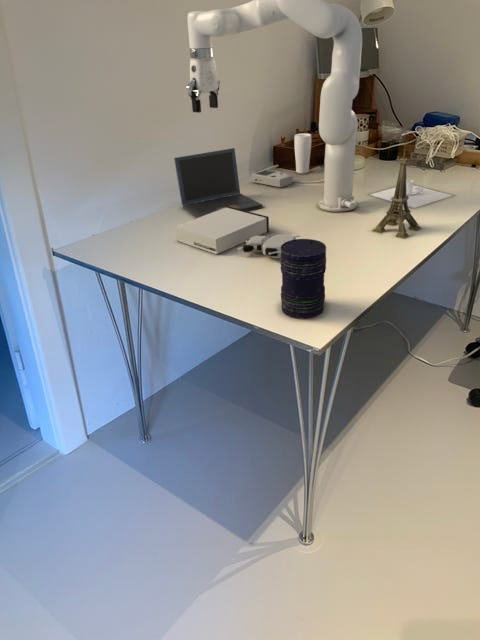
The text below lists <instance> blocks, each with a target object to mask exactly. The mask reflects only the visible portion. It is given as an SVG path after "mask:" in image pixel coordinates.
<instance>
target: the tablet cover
mask: <svg viewBox="0 0 480 640" xmlns="http://www.w3.org/2000/svg"><path fill="white" fill-rule="evenodd" d="M173 160H174V165H175V172H176V179H177V184H178V192H179V196H180V197H179V198H180V201H181V206H183V205H186V204H190V203H195V202H200V201H205V200H210V199H215V198H220V197H225V196H230V195H235V194H240V193H241V188H240V181H239V171H238V164H237V156H236V150H235V147H232V148H226V149H221V150H219V149H218V150H214V151H208V152H202V153H195V154H190V155H184V156H183V155H182V156H178V157H174V158H173Z"/></svg>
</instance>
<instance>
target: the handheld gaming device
mask: <svg viewBox="0 0 480 640" xmlns="http://www.w3.org/2000/svg"><path fill="white" fill-rule="evenodd" d="M250 177H251V182H252V183H257V184H261V185H266V186H271V187H276V188H285V187H286V186H290V185H292V184H293V175H292V174H290V173H287V172H283V171H279V170H273V169H267V168H265V169H261V170H259V171H256V172H253V173H251V174H250Z"/></svg>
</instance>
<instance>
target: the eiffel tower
mask: <svg viewBox="0 0 480 640" xmlns="http://www.w3.org/2000/svg"><path fill="white" fill-rule="evenodd" d="M404 146H406V144H405V145H404ZM397 163H398V164H399V170H398V175H397V179H396V185H395V187H396V189H395V193H394V197H392V198H391V200H392V201H391V204H390V207H389V209H388V210H387V211H386V212H385V213H386V215H384V217H383V218H382V219H381V220H380V221H379V222H378V224H376V227H375V228H373V229H372V230H371V232H374V233H379V234H381V233H383V232H384V231H386V226H387V225H390V226H395V225H396V224H398V227H397V233H396V235H395V237H396V238H400V239H404V240H405V239H406V238H408V237H409V236H410V234H409V233H408V230H412V231H416V232H418V231H420V230H421V229H422V226H420V225H419V223H418V222H417V220H416V218H415V217H414V216H413V214H411V212H412V210H410V207H409V206H408V203H407V199H409V197H408V196H406V180H407V164H409V158H406V149H404V150H403V157H402V158H400V159H399V161H398V162H397ZM405 221H406V222H407V224H408V225H409V226H408V230H407V229H406V227H405V224H404V222H405Z"/></svg>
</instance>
